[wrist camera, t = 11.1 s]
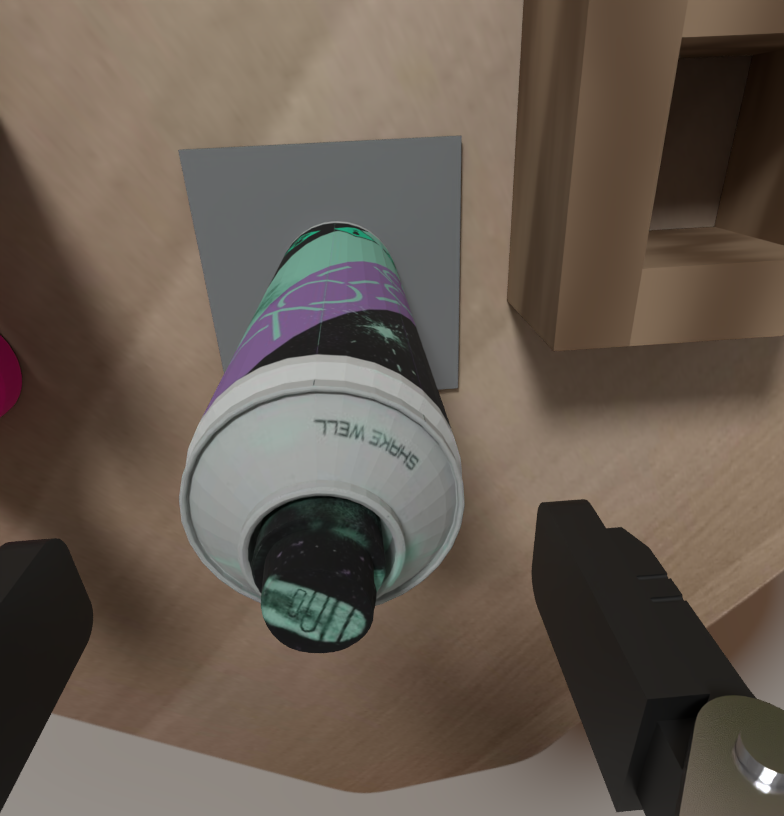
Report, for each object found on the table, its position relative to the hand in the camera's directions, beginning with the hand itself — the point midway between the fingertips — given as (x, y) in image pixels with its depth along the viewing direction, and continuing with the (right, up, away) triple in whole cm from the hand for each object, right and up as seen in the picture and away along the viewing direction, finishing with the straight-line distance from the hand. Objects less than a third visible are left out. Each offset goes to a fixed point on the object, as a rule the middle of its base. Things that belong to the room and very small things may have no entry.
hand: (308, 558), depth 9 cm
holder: (+13, +14, +15) cm, 25 cm away
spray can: (-1, +9, +17) cm, 19 cm away
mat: (-1, +9, +17) cm, 19 cm away
